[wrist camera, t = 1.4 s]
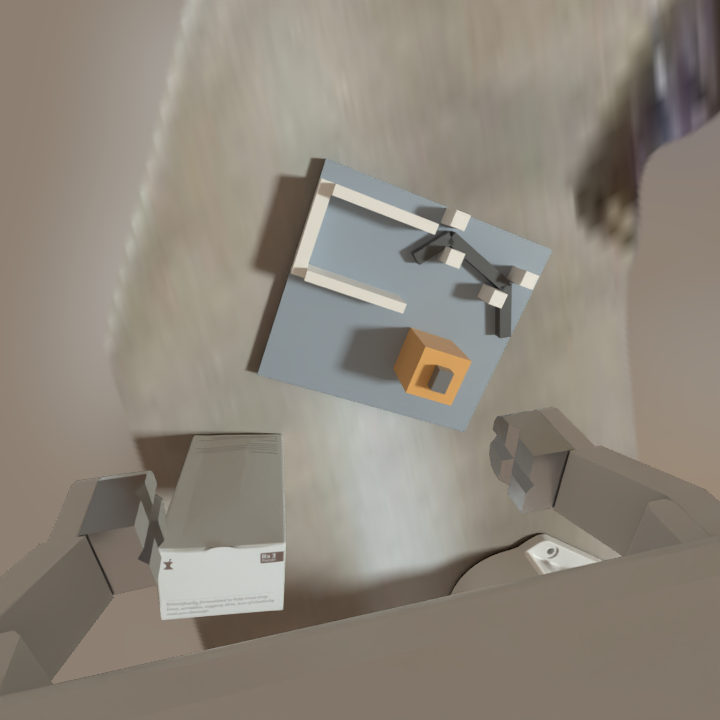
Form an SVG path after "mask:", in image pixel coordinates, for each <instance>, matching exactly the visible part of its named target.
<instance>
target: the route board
mask: <svg viewBox="0 0 720 720" xmlns="http://www.w3.org/2000/svg"><path fill="white" fill-rule="evenodd" d="M551 252H552V250H551V249H549V248H546V247H544V246H541V245H539V244H536V243H534V242H531V241H529V240H526V239H524V238H521V237H519V236H516V235H514V234H512V233H509V232H507V231H504V230H502V229H499V228H497V227H494V226H492V225H489V224H487V223H484V222H482V221H479V220H477V219H475V218H472V217H471V215H468V214H466V213H463V212H461V211H458V210H455V209H450V208H447V207H445V206H443V205H440V204H438V203H435V202H433V201H430V200H428V199H425V198H423V197H420V196H418V195H415V194H413V193H410V192H408V191H406V190H403V189H401V188H398V187H396V186H393V185H391V184H388V183H386V182H383V181H381V180H378V179H376V178H373V177H371V176H369V175H366V174H364V173H361V172H359V171H356V170H354V169H351V168H349V167H346V166H344V165H341V164H339V163H336V162H334V161H332V160H329V159H327V158H326V159H325V162H324V165H323V168H322V171H321V174H320V177H319V181H318V184H317V187H316V190H315V193H314V196H313V199H312V203H311V206H310V209H309V212H308V215H307V218H306V221H305V225H304V228H303V231H302V234H301V237H300V240H299V244H298V247H297V250H296V253H295V256H294V259H293V262H292V266H291V269H290V272H289V275H288V278H287V281H286V284H285V288H284V291H283V294H282V297H281V300H280V303H279V306H278V310H277V313H276V316H275V319H274V322H273V325H272V328H271V332H270V335H269V338H268V341H267V344H266V347H265V350H264V354H263V357H262V360H261V363H260V366H259V369H258V374H257V375H261V376H264V377H268V378H271V379H275V380H279V381H282V382H286V383H290V384H293V385H297V386H300V387H304V388H308V389H311V390H315V391H318V392H322V393H326V394H329V395H333V396H336V397H340V398H344V399H347V400H351V401H354V402H358V403H362V404H365V405H369V406H372V407H376V408H380V409H383V410H387V411H390V412H394V413H398V414H401V415H405V416H408V417H412V418H416V419H419V420H423V421H426V422H430V423H434V424H437V425H441V426H444V427H448V428H452V429H455V430H459V431H462V432H464V431H465V429H466V427H467V425H468V423H469V421H470V419H471V417H472V415H473V413H474V411H475V408H476V406H477V404H478V402H479V400H480V398H481V396H482V394H483V392H484V390H485V388H486V386H487V384H488V382H489V380H490V378H491V376H492V374H493V371H494V369H495V367H496V365H497V363H498V361H499V359H500V357H501V355H502V353H503V351H504V349H505V347H506V345H507V343H508V341H509V339H510V337H511V334H512V332H513V330H514V328H515V326H516V324H517V322H518V320H519V318H520V316H521V314H522V312H523V310H524V308H525V306H526V304H527V302H528V299H529V297H530V295H531V293H532V291H533V289H534V287H535V285H536V283H537V281H538V279H539V277H540V275H541V273H542V271H543V269H544V267H545V265H546V262H547V260H548V258H549V256H550V254H551ZM410 327H412V328H415V329H418V330H421V331H424V332H427V333H430V334H433V335H436V336H439V337H442V338H445V339H448V340H451V341H452V342H453V343H454V344H455V345H456V346H457V347H458V348H459V349H460V350H461V351H462V352H463V353H464V354H465V355H466V356H467V357H468V358H469V359H470V360H471V361H472V362H471V364H470V366H469V368H468V371H467V373H466V375H465V377H464V379H463V381H462V383H461V386H460V388H459V390H458V392H457V394H456V396H455V398H454V400H453V403H452V405H451V406H450V405H447V404H443V403H440V402H436V401H433V400H429V399H426V398H423V397H419V396H416V395H412V394H409V393H406V392H405V390H404V388H403V386H402V384H401V383H400V381H399V379H398V377H397V375H396V373H395V371H394V369H393V368H394V365H395V363H396V360H397V358H398V356H399V353H400V351H401V348H402V346H403V344H404V341H405V339H406V336H407V334H408V331H409V329H410Z"/></svg>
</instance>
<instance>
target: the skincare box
mask: <svg viewBox="0 0 720 720" xmlns="http://www.w3.org/2000/svg"><path fill="white" fill-rule="evenodd" d="M158 549H159V552H160V555H161V564H160V570H159V576H158V581H157V590H158V598H159V605H160V614H161V620H170V619H182V618H192V617H203V616H214V615H226V614H238V613H249V612H262V611H276V610H283V603H284V583H285V553H286V533H285V501H284V466H283V438H282V435H281V434H265V435H211V436H205V435H195V436H193V439H192V441H191V445H190V447H189V450H188V453H187V456H186V459H185V462H184V465H183V468H182V471H181V474H180V477H179V480H178V482H177V486H176V488H175V491H174V494H173V497H172V499H171V502H170V505H169V508H168V511H167V514H166V533H165V540H164V542H163V543H162V544H161V545H160V546H159V547H158Z"/></svg>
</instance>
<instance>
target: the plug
mask: <svg viewBox="0 0 720 720" xmlns="http://www.w3.org/2000/svg"><path fill="white" fill-rule="evenodd" d="M471 362H472V361H471V360H470V359H469V358H468V357H467V356H466V355H465V354H464V353H463V352H462V351H461V350H460V349H459V348H458V347H457V346H456V345H455V344H454V343H453V342H452V341H451V340H448V339H445V338H442V337H439V336H436V335H433V334H430V333H427V332H424V331H421V330H418V329H415V328H412V327H410V329H409V331H408V334H407V336H406V339H405V341H404V344H403V346H402V348H401V351H400V353H399V356H398V358H397V360H396V363H395V365H394V368H393V369H394V371H395V373H396V375H397V377H398V379H399V381H400V383H401V384H402V386H403V388H404V390H405V392H406V393H409V394H412V395H416V396H419V397H423V398H426V399H429V400H433V401H436V402H440V403H443V404H447V405H450V406H451V405H452V403H453V400H454V398H455V396H456V394H457V392H458V390H459V388H460V386H461V383H462V381H463V379H464V377H465V375H466V373H467V371H468V368H469V366H470V364H471Z"/></svg>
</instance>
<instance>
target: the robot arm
mask: <svg viewBox="0 0 720 720" xmlns="http://www.w3.org/2000/svg"><path fill="white" fill-rule="evenodd" d="M493 430H494V432H495V433H496V435H497V436H496V438H495V439H494V440H493V441H492V442H491V444H490V452H489V455H490V462H491V466H492V468H493V471H494V473H495V474H496V476H497V478H498V479H499V480H500V481H502V482H504V483H506V484H507V485H509V488H508V494H509V496H510V497H511V499H512V500H513V502H514V503H515V505H516V506H517V508H518V509H519V511H520V512H521V514H522V513H528V512H534V511H540V510H546V509H552V508H554V510H555V511H556V512H558V513H559V514H561V515H562V516H564V517H565V518H567V519H568V520H570V521H571V522H573V523H574V524H576V525H577V526H578V527H580V528H581V529H583V530H584V531H586V532H587V533H589V534H590V535H592V536H593V537H595V538H596V539H598V540H599V541H601V542H602V543H604V544H605V545H607V546H608V547H610V548H611V549H613V550H614V551H616V552H617V553H619V554H620V555H622V557H618V558H614V559H609V560H605V561H602V560H600V559H598V558H596V557H594V556H591V555H589V554H587V553H585V552H583V551H581V550H578V549H576V548H574V547H572V546H570V545H568V544H565V543H563V542H561V541H559V540H557V539H555V538H552V537H550V536H548V535H545V534H540V535H537V536H535V537H533V538H531V539H529V540H528V541H526V542H525V543H523V544H522V545H520V546H519V547H517V548H514V549H511V550H508V551H505V552H501V553H498V554H495V555H493V556H491V557H488V558H486V559H485V560H483V561H481V562H479V563H478V564H476V565H475V566H474V567H472V568H471V569H470V570H469V571H468V572H466V573H465V574H464V575H463V577H462V578H461V579H460V580H459V581H458V583H457V584H456V586H455V587H454V589H453V591H452V593H451V595H449V596H444V597H440V598H436V599H431V600H427V601H422V602H418V603H413V604H409V605H404V606H400V607H396V608H391V609H387V610H382V611H378V612H373V613H369V614H364V615H360V616H356V617H351V618H347V619H342V620H338V621H333V622H329V623H324V624H320V625H316V626H311V627H307V628H302V629H298V630H293V631H289V632H284V633H280V634H275V635H271V636H266V637H262V638H257V639H253V640H249V641H244V642H240V643H235V644H231V645H226V646H222V647H217V648H213V649H208V650H204V651H199V652H195V653H191V654H186V655H182V656H178V657H173V658H169V659H164V660H159V661H155V662H151V663H146V664H142V665H138V666H133V667H129V668H124V669H120V670H116V671H111V672H106V673H102V674H97V675H93V676H88V677H84V678H80V679H75V680H71V681H67V682H62V683H57V684H52V682H51V680H52V679H53V677H54V676H55V675H56V673H57V672H58V671H59V669H60V668H61V667H62V665H63V664H64V663H65V662H66V660H67V659H68V658H69V656H70V655H71V654H72V652H73V651H74V649H75V648H76V647H77V645H78V644H79V643H80V642H81V640H82V639H83V638H84V636H85V635H86V634H87V632H88V631H89V630H90V628H91V627H92V626H93V624H94V623H95V622H96V620H97V619H98V618H99V616H100V615H101V614H102V612H103V611H104V610H105V608H106V607H107V606H108V605H109V603H110V602H111V601H112V599H113V598H114V597H113V595H116V594H121V593H125V592H130V591H134V590H139V589H143V588H147V587H152V586H156V585H157V581H158V576H159V570H160V564H161V555H160V552H159V549H158V547H159V546H160V545H161V544H162V543H163V542H164V540H165V533H166V513H165V507H164V503H163V500H162V498H161V497H160V496H158V495H156V494H155V492H156V487H157V482H156V479H155V476H154V473H153V472H152V471H150V470H148V471H141V472H133V473H127V474H119V475H111V476H104V477H101V478H92V479H84V480H77V481H76V482H75V483H74V484H73V485H72V486H71V487H70V490H69V492H68V495H67V497H66V499H65V502H64V504H63V506H62V509H61V511H60V513H59V516H58V518H57V520H56V523H55V525H54V527H53V530H52V532H51V534H50V537H49V539H48V541H47V542H46V543H41V544H38V545H37V546H36V547H35V548H34V549H32V550H31V551H30V552H29V553H28V554H27V555H26V556H25V557H23V558H22V559H21V560H20V561H18V562H17V563H16V564H15V565H14V566H12V567H11V568H10V569H9V570H8V571H7V572H5V573H4V574H3V575H2V576H1V577H0V720H720V502H719V501H718V500H717V499H716V498H715V497H714V496H713V495H712V494H710V493H709V492H708V491H707V490H706V489H704V488H701V487H699V486H696V485H694V484H692V483H689V482H687V481H684V480H682V479H680V478H677V477H675V476H673V475H670V474H668V473H665V472H663V471H661V470H658V469H656V468H653V467H651V466H649V465H646V464H644V463H641V462H639V461H637V460H634V459H632V458H629V457H627V456H625V455H622V454H620V453H617V452H615V451H613V450H610V449H608V448H605V447H603V446H594V445H593V444H592V443H591V442H590V441H589V440H588V439H587V438H586V437H585V436H584V435H583V434H582V433H581V432H580V431H579V430H578V429H577V428H576V427H575V426H574V425H573V424H572V423H571V422H570V421H569V420H568V419H567V418H566V417H565V416H564V415H563V414H562V413H561V412H560V411H559V410H558V409H557V408H554V407H548V408H543V409H537V410H534V411H527V412H521V413H515V414H509V415H503V416H497V418H496V419H495V421H494V426H493Z"/></svg>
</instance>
